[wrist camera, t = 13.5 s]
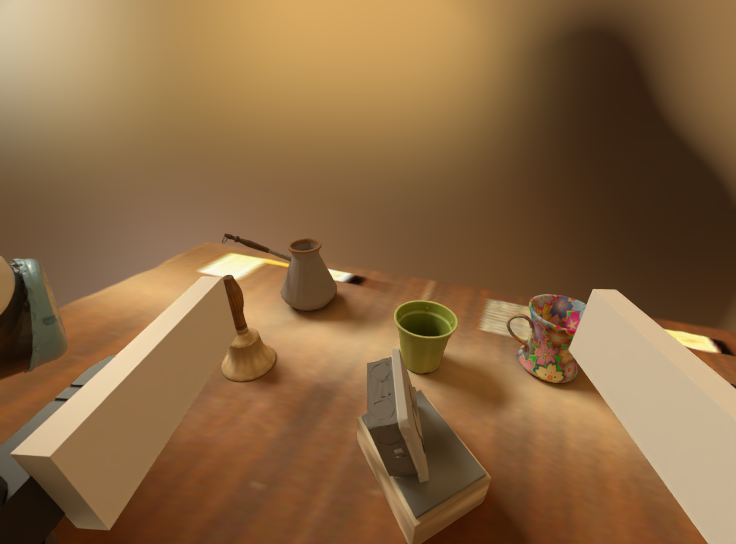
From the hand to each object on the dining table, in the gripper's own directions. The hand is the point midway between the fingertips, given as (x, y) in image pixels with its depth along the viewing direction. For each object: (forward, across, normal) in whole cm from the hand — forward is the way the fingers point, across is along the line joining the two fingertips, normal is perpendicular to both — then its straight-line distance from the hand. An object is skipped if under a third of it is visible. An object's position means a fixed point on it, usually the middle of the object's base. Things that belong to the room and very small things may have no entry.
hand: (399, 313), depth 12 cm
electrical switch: (+11, +1, -25) cm, 28 cm away
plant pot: (+29, +6, -30) cm, 42 cm away
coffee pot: (+45, -21, -30) cm, 58 cm away
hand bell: (+27, -22, -30) cm, 46 cm away
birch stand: (+12, +4, -30) cm, 32 cm away
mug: (+29, +24, -30) cm, 48 cm away
